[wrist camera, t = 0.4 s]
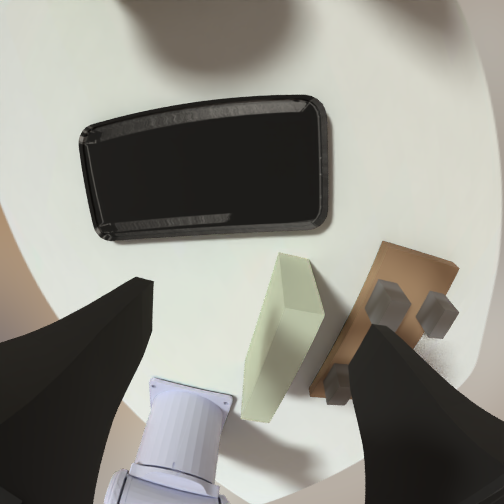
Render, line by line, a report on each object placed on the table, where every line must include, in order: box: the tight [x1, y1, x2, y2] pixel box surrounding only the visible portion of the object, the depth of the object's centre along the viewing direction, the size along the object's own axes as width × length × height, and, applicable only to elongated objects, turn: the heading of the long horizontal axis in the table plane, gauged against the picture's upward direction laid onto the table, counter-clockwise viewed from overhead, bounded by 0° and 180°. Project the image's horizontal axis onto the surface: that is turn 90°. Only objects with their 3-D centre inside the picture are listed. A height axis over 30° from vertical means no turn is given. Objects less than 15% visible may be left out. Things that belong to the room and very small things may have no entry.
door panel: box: [241, 252, 325, 423], centre depth 18 cm, size 10×2×6 cm, turn 167°
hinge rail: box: [309, 241, 459, 405], centre depth 19 cm, size 15×7×4 cm, turn 167°
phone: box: [79, 95, 328, 241], centre depth 16 cm, size 8×1×15 cm
